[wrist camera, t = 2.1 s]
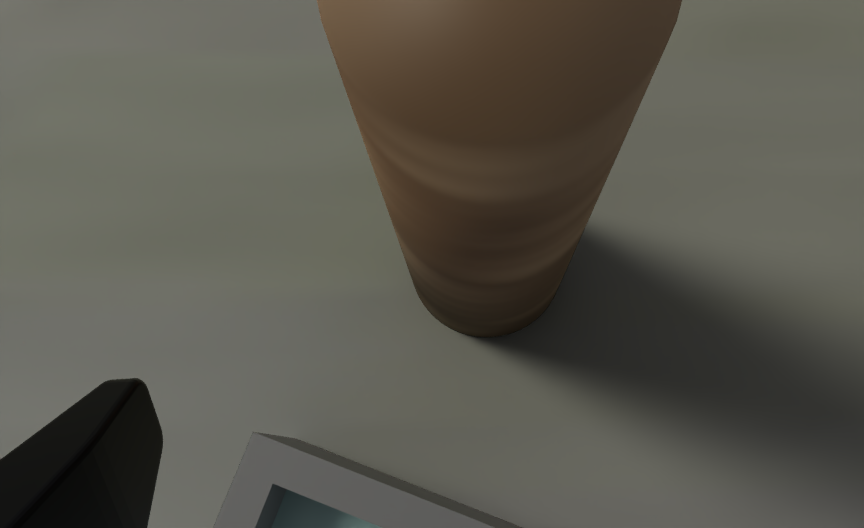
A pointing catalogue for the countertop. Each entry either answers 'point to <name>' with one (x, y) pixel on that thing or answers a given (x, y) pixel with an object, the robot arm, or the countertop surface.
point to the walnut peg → (493, 134)
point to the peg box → (331, 493)
